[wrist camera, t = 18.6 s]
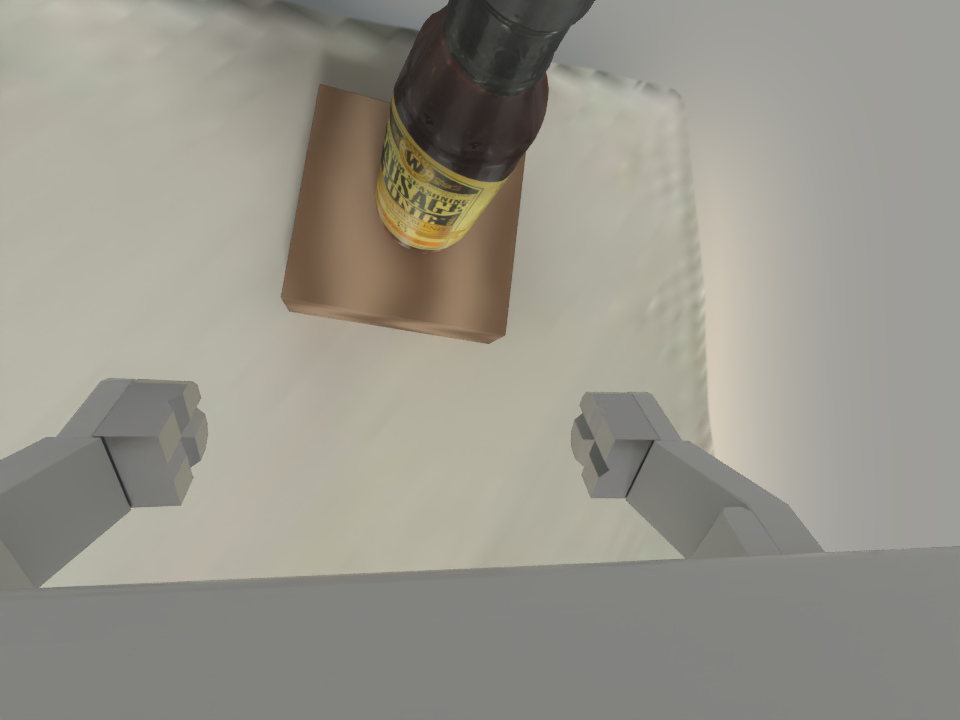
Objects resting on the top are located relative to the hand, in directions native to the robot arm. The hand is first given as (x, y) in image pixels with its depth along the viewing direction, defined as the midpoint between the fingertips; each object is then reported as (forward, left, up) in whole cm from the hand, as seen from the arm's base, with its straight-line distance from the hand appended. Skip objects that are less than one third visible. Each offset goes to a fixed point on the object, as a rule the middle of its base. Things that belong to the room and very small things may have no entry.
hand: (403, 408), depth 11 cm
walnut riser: (+1, +13, -23) cm, 27 cm away
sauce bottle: (+2, +13, -20) cm, 24 cm away
